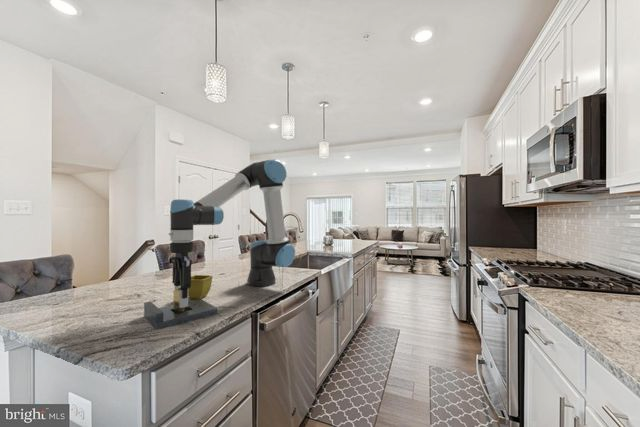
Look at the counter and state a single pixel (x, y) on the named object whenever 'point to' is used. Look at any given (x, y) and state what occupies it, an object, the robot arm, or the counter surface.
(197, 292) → the flower pot
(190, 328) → the counter surface
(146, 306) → the jig
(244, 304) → the counter surface
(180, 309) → the bushing
